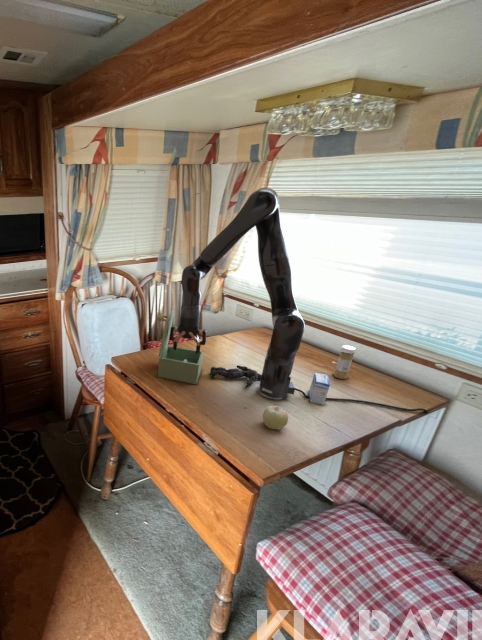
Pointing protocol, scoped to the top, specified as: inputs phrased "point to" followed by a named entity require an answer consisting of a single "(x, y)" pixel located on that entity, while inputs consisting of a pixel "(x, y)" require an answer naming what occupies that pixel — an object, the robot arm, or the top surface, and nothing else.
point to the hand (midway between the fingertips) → (186, 351)
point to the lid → (166, 330)
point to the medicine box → (319, 388)
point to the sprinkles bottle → (344, 361)
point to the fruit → (275, 417)
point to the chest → (180, 364)
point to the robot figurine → (236, 374)
